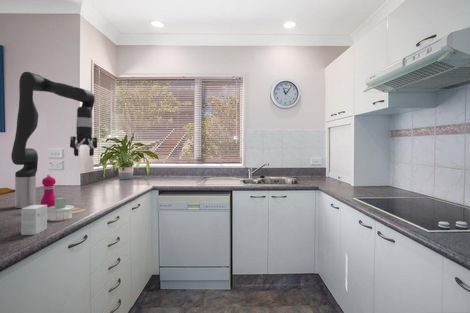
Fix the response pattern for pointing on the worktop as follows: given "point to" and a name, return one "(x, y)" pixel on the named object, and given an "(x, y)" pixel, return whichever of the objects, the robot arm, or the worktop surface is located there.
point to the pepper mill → (48, 191)
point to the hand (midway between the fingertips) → (84, 155)
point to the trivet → (77, 210)
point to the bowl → (59, 215)
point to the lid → (60, 206)
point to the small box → (33, 219)
